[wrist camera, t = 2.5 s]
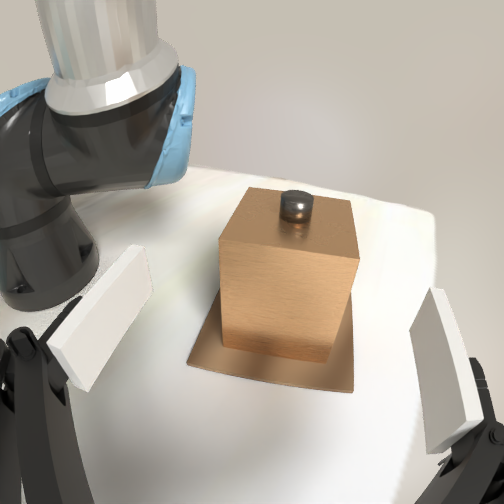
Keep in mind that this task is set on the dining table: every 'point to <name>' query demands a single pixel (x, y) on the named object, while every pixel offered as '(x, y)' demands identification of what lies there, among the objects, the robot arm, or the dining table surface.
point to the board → (277, 358)
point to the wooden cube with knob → (286, 273)
